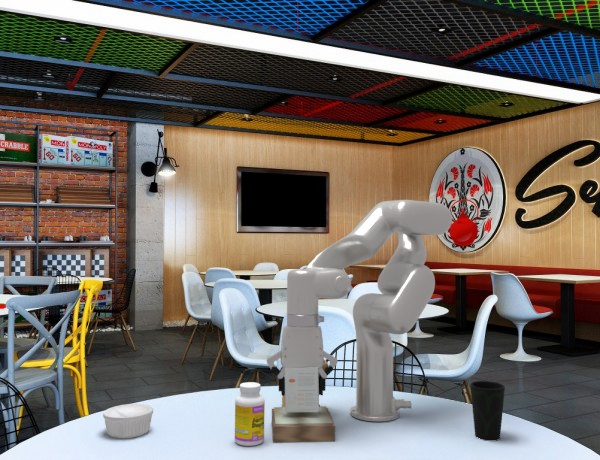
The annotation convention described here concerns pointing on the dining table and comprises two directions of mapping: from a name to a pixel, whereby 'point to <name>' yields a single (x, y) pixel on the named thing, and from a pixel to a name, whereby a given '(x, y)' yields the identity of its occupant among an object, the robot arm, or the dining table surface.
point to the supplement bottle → (249, 415)
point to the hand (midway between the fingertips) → (301, 393)
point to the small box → (301, 389)
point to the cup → (487, 408)
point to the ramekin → (128, 420)
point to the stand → (302, 426)
